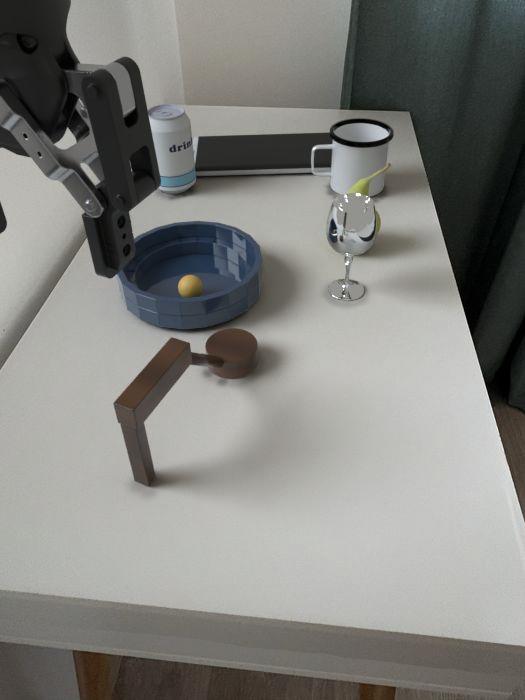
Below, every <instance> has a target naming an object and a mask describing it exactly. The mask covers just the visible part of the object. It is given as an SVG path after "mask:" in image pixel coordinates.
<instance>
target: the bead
mask: <svg viewBox="0 0 525 700" xmlns="http://www.w3.org/2000/svg"><path fill="white" fill-rule="evenodd" d="M178 290H179V293H180V295H181V296H182V297H183V298H192V297H199V296H200V295H201V293H202V291H203V284H202V281H201V280H200V279H199V278H198V277H197V276H194V275H186V276H184V277H183V278H182V279H181V280H180V281H179V284H178Z"/></svg>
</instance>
